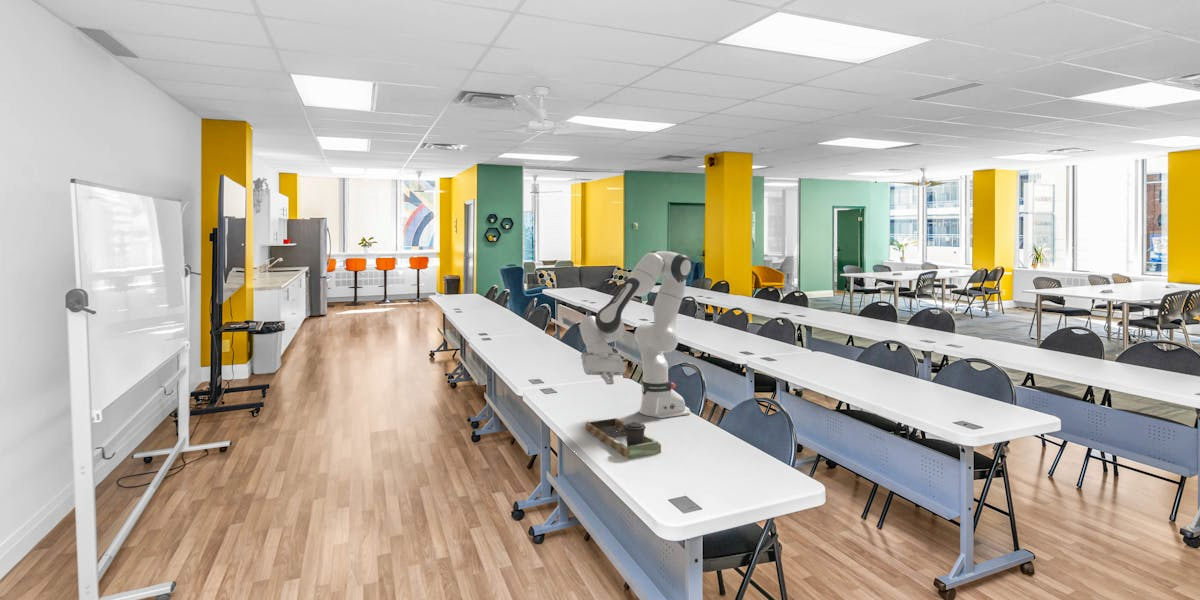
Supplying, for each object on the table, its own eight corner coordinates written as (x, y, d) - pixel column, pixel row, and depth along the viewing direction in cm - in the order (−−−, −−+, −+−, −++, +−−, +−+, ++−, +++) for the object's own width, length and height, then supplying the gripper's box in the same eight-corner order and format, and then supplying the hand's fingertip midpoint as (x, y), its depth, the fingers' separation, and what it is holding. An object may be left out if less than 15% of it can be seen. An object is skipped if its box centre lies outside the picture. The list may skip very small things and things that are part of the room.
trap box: (585, 429, 257) (585, 420, 257) (616, 425, 263) (616, 415, 263) (627, 458, 225) (627, 447, 224) (660, 452, 231) (661, 441, 230)
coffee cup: (636, 445, 239) (636, 419, 237) (650, 451, 232) (650, 424, 231) (619, 449, 234) (619, 423, 233) (632, 455, 227) (632, 428, 226)
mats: (592, 430, 256) (592, 430, 256) (614, 427, 260) (614, 426, 260) (604, 438, 246) (604, 438, 246) (627, 435, 250) (627, 434, 250)
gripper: (584, 348, 246) (595, 379, 240) (621, 350, 260) (633, 380, 254) (575, 356, 250) (585, 387, 244) (612, 358, 264) (623, 387, 257)
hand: (610, 383), depth 249 cm, fingers closed
